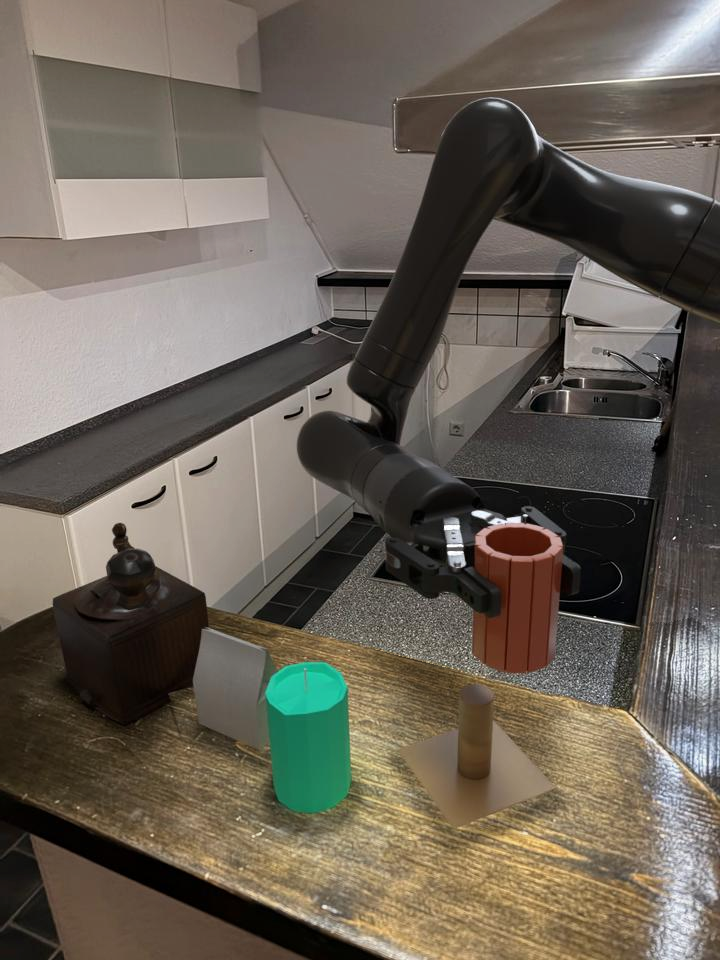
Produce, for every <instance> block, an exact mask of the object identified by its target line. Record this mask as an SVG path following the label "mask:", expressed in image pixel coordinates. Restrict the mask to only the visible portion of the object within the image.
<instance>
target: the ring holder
mask: <svg viewBox="0 0 720 960" xmlns="http://www.w3.org/2000/svg"><path fill="white" fill-rule="evenodd" d="M494 711H495V693H494V692H493V690H492V689H491V688H489V686H487V685H484V684H480V683H471V684H467V685H464V686H463V687H461V689H460V690H459V692H458V719H457V720H458V721H457V722H458V725H457V728H455V729H452V730H449V731H447V732H442V733H441V734H438V735H435V736H431V737H429V738H427V739H426V738H425V739H423V740H419V741H416V742H414V743H411V744H408V745H405V746H402V747H400V748H397V752H398V753H399V754H400V756H401V757H402V759H403V760H404V761H405V763H406V764H407V766H408V767H409V769H410V770H411V772H412V773H413V774H414V775H415V777H416V778H417V780H418V782H419V783H420V784H421V785H422V787H423V789H424V790H425V791H426V793H427V794H428V796H429V797H430V799H431V800H432V801H433V802H434V804H435V806H436V807H437V808H438V809H439V811H440V812H441V814H442V815H443V817H444V818H445V820H446V821H447V823H448V824H449V826H450V827H451V828H452V830H455V829H458V828H461V827H463V826H466V825H469V824H470V823H474V822H475V821H478V820H480V819H483V818H486V817H488V816H492V815H493V814H496V813H498V812H501V811H504V810H506V809H509V808H511V807H514V806H516V805H518V804H521V803H523V802H526V801H529V800H531V799H534V798H536V797H539V796H541V795H544V794H546V793H549V792H551V791H554V790H556V789H557V787H556V786H555V785H554V783H552V782H551V780H550V779H549V778H548V777H547V776H546V775H545V774H544V773H543V772H542V771H541V770H540V768H538V766H537V765H536V764H535V763H534V762H533V761H532V760H531V758H529V756H528V755H526V753H525V752H524V751H523V750H522V749H521V748H520V747H519V746H518V744H517V743H516V742H515V741H514V740H513V739H512V738H511V737H510V736H509V735H508V733H506V732H505V731H504V730H503V728H502V727H501V726H500V725H499V724H498V723H497V722H496V721H495V720H494Z"/></svg>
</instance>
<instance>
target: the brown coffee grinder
mask: <svg viewBox="0 0 720 960" xmlns="http://www.w3.org/2000/svg"><path fill="white" fill-rule="evenodd" d="M127 531H128V529H127V526H126V524H125V523H123V522H117V523H114V525H113V527H112V528H111V532H112V534H113V536H114V538H112V539H113V540H112V546H113V548H114V549H115V550H116V551H117V552H116V553H114V554H112V556H111V557H110V558H108V560H107V562H106V565H105V570H106V575H104V576H102V577H101V578H98V579H96V580H92V581H91V582H89V583H86V584H83V585H81V586H79V587H76V588H74V589H71V590H68V591H67V592H63V593H62V594H59V595H57V596H55V597H53V598H52V609H53V614H54V619H55V624H56V629H57V633H58V638H59V643H60V648H61V652H62V657H63V663H64V665H65V666H64V667H65V671H66V683H67V685H69V686H70V687H71V688H72V689H73V690H74V691H75V692H76V693H77V694H78V695H79V698H80V699H81V701H83V702H84V703H85V704H87V705H89V706H90V707H92V708H93V709H95V710H97V711H99V712H100V713H102V714H103V715H104V716H106V717H107V718H109V719H110V720H112V721H115V722H117V723H119V724H121V725H124V726H126V725H128V724H130V723H133V722H135V721H137V720H139V719H142V718H144V717H146V716H148V715H150V714H153V713H154V712H156V711H158V710H159V709H161V708H163V707H164V706H166V705H168V704H170V703H171V702H172V700H171V697H170V694H171V693H174V692H179V691H183V690H186V689H189V688H194V686H193V677H194V672H195V668H196V663H197V658H198V654H199V649H200V643H201V635H202V629H205V627H207V628H210V625H209V615H208V614H209V613H208V606H207V597H206V593H205V592H204V591H202V590H200V589H198V588H197V587H195V586H193V585H192V584H189V583H188V582H186V581H184V580H183V579H181V578H178V577H176V576H174V575H173V574H171V573H170V572H167V571H165V570H163V569H162V568H160V567H158V566H157V565H156V563H155V560H154V559H153V557H152V555H151V554H150V553H149V552H148V551H147V550H144V549H141V548H135V547H134V546H132V544H131V543H130V541H129V536H128V535H127Z"/></svg>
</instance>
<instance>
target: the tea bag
mask: <svg viewBox="0 0 720 960" xmlns="http://www.w3.org/2000/svg"><path fill="white" fill-rule="evenodd" d="M270 653H271V652H270V650H269V648H265V647H263V646H260V645H257V644H254V643H251V642H249V641H246V640H244V639H240V638H239V637H236V636H232V635H230V634H227V633H224V632H221V631H218V630H215V629H212V628H210V627H209V628H207V627H205V629H202V635H201V643H200V649H199V654H198V658H197V663H196V668H195V672H194V677H193V692H194V701H195V708H196V716H197V723H198V724H199V725H201V726H204V727H206V728H208V729H211V730H212V731H214V732H217V733H218V734H222V735H224V736H226V737H228V738H231V739H233V740H235V741H238V742H239V743H242V744H244V745H247V746H249V747H251V748H253V749H256V750H258V751H262V750H263V749H264V748H265V747H266V746H267V745H268V744H270V741H269V730H268V720H267V709H266V698H265V693H266V690H267V687H268V684H269V681H270V679H271V677H272V676H273V675H274V674H276V673H277V672H279V670H278V669H277V666H276V665H275V663H274V661H273V659H272V656H271V654H270Z"/></svg>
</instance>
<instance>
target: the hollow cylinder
mask: <svg viewBox="0 0 720 960" xmlns="http://www.w3.org/2000/svg"><path fill="white" fill-rule="evenodd" d="M562 558H563V544H562V541H561V538H560V537H559V536H558V535H556V534H555V533H553V532H552V531H550V530H548V529H545V528H544V527H540V526H536V525H532V524H528V523H527V524H524V523H505V525H504V524H503V523H501V524H497V525H492V526H488V527H487V528H484V529H482V530H481V531H480V532H479V533H477V534H476V536H475V539H474V569H476V571H477V572H478V573H480V574H481V575H482V576H483V577H485V578H486V579H488V580H489V581H491V582H492V583H493V584H494V585H496V586H497V587H498V588H499V589H500V592H501V614H500V616H497V617H493V618H488V617H487V616H486V615H484V614H483V613H478V612H476V611H474V610H473V609H472V615H471V616H472V621H471V651H472V652H471V653H472V654H473V655H474V657H475V658H476V659H477V660H478V661H479V662H481V664H483V665H485V667H487V668H490V669H493V670H495V671H498V672H500V673H506V674H527V673H528V674H531V673H534V672H537V671H540V670H543V669H545V668H547V667H549V665H550V664H551V663H552V661H553V660H554V659H555V658H556V651H557V637H558V636H557V635H558V623H559V611H560V599H561V598H560V597H561V590H560V585H561V571H562Z"/></svg>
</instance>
